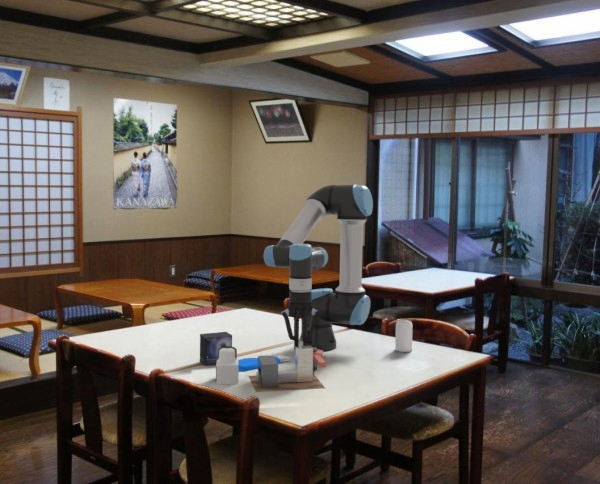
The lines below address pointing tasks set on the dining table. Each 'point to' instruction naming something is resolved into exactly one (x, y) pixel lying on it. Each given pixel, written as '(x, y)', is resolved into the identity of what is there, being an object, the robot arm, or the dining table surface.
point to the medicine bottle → (227, 366)
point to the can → (403, 335)
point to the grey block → (268, 371)
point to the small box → (213, 346)
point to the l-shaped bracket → (297, 367)
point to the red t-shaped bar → (318, 357)
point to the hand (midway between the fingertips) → (299, 359)
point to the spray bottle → (256, 362)
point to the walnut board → (288, 385)
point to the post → (314, 366)
